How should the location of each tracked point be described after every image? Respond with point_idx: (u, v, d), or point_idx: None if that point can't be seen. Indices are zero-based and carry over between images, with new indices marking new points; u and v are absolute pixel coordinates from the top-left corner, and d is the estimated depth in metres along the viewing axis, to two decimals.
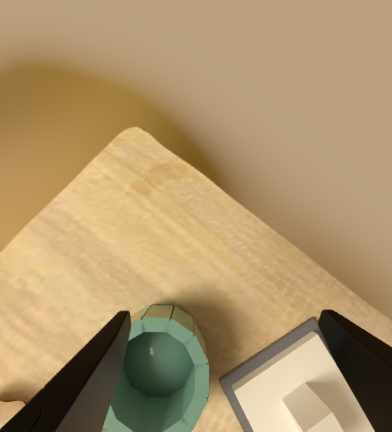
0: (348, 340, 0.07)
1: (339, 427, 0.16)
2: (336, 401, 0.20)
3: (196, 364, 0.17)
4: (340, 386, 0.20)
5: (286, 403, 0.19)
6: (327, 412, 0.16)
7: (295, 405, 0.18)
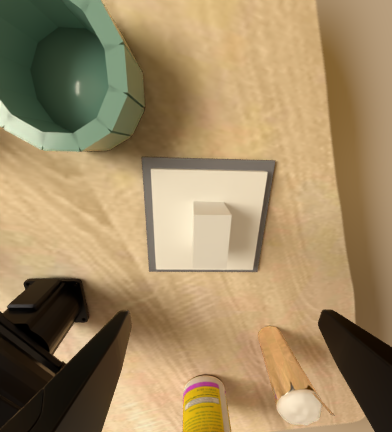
0: (348, 340, 0.07)
1: (228, 229, 0.15)
2: (239, 230, 0.20)
3: (111, 85, 0.12)
4: (251, 223, 0.20)
5: (195, 203, 0.18)
6: (226, 214, 0.15)
7: (202, 205, 0.17)
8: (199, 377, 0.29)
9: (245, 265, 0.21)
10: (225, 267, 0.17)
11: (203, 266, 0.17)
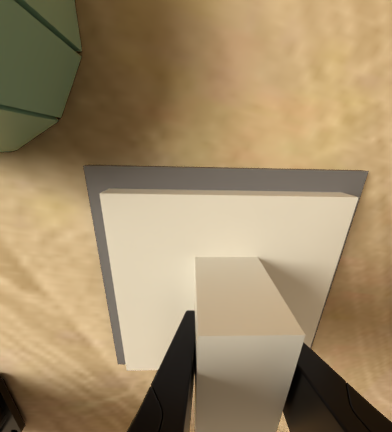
0: None
1: (291, 363, 0.06)
2: None
3: None
4: (311, 294, 0.10)
5: (199, 266, 0.08)
6: (289, 328, 0.05)
7: (216, 278, 0.08)
8: None
9: None
10: (273, 431, 0.07)
11: None
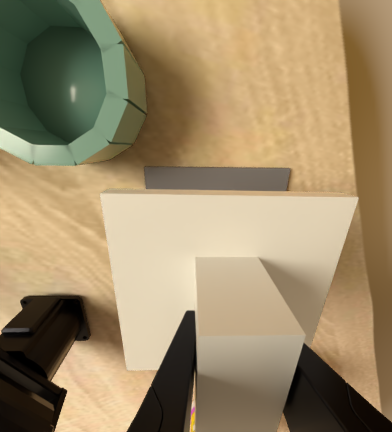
0: None
1: (292, 363, 0.06)
2: None
3: (109, 90, 0.11)
4: (311, 294, 0.10)
5: (199, 266, 0.08)
6: (290, 328, 0.05)
7: (216, 278, 0.08)
8: None
9: None
10: (273, 431, 0.07)
11: None
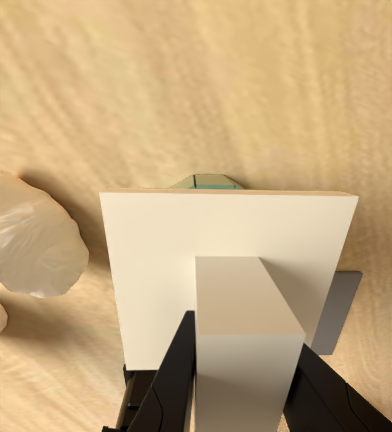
0: None
1: (292, 362, 0.06)
2: None
3: None
4: (311, 293, 0.10)
5: (199, 265, 0.08)
6: (289, 327, 0.05)
7: (216, 277, 0.08)
8: None
9: None
10: (273, 431, 0.07)
11: (220, 431, 0.07)
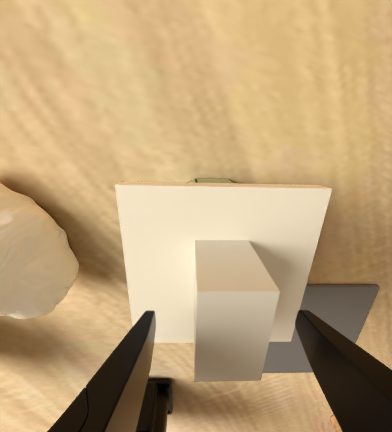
0: (320, 340, 0.07)
1: (270, 316, 0.07)
2: None
3: None
4: (295, 273, 0.11)
5: (198, 246, 0.10)
6: (268, 287, 0.07)
7: (212, 254, 0.09)
8: None
9: (279, 335, 0.13)
10: (258, 378, 0.09)
11: (215, 378, 0.08)
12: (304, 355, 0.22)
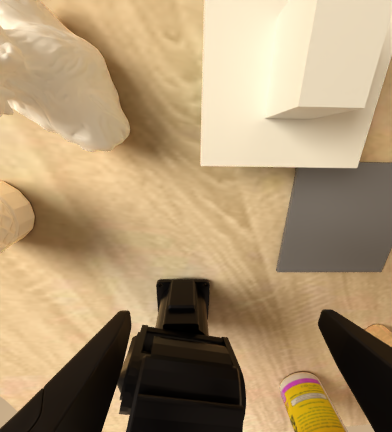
0: (348, 340, 0.07)
1: None
2: None
3: None
4: None
5: None
6: None
7: None
8: (298, 374, 0.30)
9: (346, 158, 0.13)
10: (363, 105, 0.08)
11: (319, 102, 0.08)
12: (344, 250, 0.22)
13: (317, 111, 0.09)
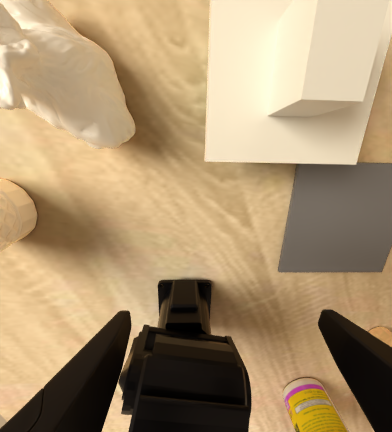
0: (348, 340, 0.07)
1: None
2: None
3: None
4: None
5: None
6: None
7: None
8: (301, 379, 0.29)
9: (345, 155, 0.14)
10: (361, 98, 0.09)
11: (321, 95, 0.09)
12: (345, 250, 0.22)
13: (318, 106, 0.10)
